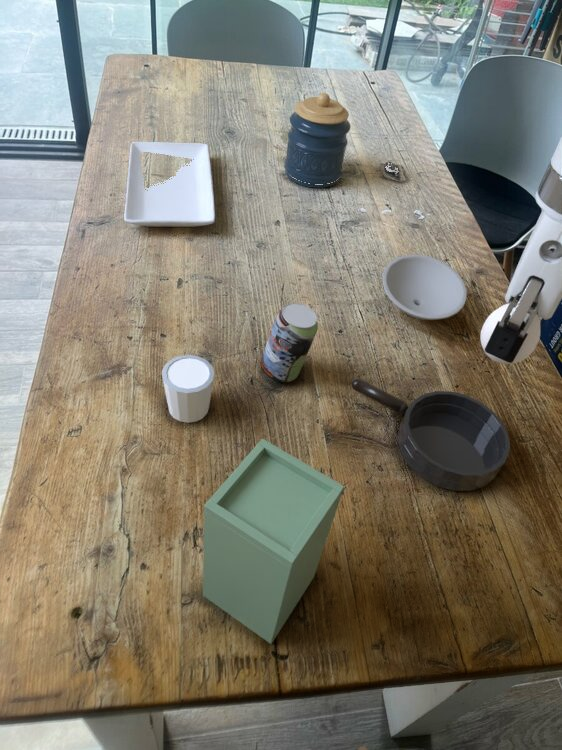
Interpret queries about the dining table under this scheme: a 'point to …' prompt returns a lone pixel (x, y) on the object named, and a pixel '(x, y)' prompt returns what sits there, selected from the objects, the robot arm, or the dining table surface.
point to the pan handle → (379, 396)
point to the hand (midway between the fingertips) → (508, 338)
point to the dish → (424, 287)
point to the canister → (317, 141)
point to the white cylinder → (188, 387)
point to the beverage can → (289, 342)
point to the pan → (453, 440)
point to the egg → (526, 347)
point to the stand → (266, 537)
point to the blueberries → (392, 175)
